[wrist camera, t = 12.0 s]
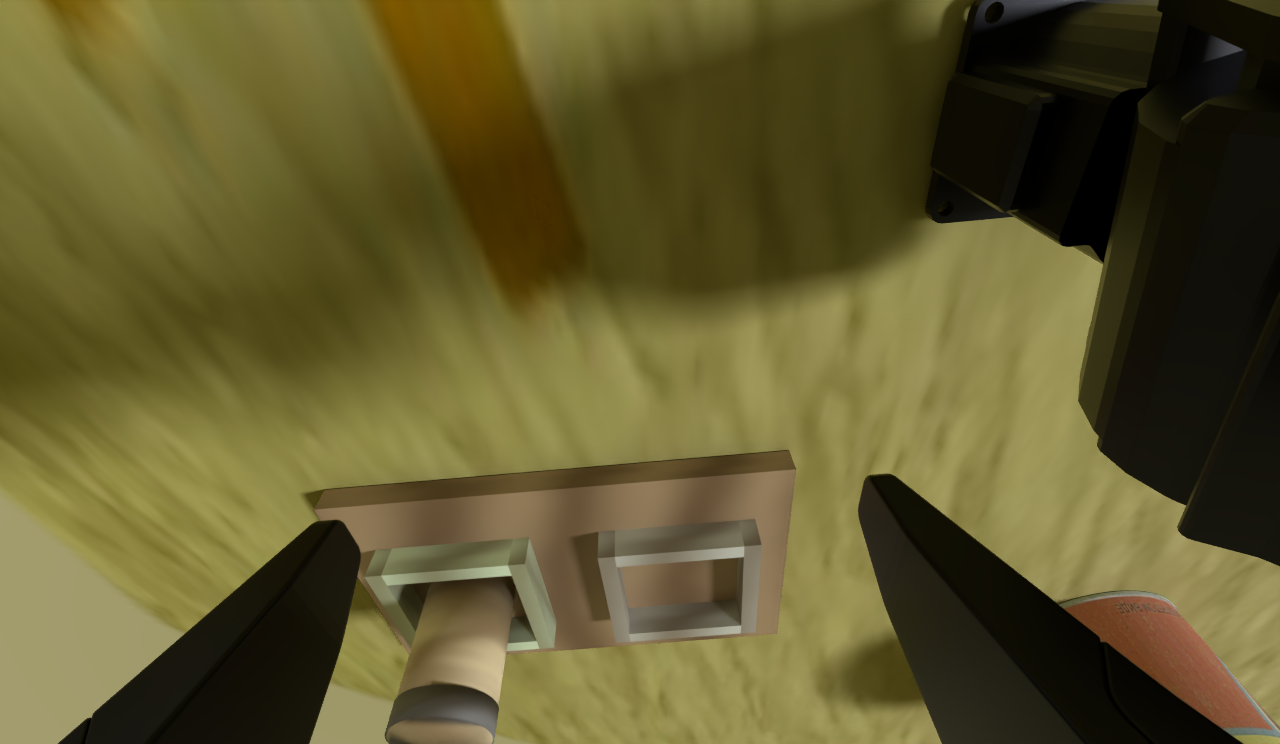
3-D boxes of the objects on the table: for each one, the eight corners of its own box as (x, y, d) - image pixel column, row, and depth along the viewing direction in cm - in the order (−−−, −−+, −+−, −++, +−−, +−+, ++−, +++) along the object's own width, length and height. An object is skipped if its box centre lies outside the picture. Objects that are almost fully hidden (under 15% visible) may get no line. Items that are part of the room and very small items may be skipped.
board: (789, 450, 25) (805, 495, 23) (772, 614, 34) (782, 659, 31) (324, 489, 26) (297, 536, 24) (419, 642, 34) (406, 687, 32)
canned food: (1174, 651, 38) (1365, 882, 28) (1005, 693, 41) (1125, 915, 31) (1177, 569, 32) (1419, 825, 22) (979, 625, 35) (1117, 872, 25)
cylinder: (504, 559, 28) (477, 711, 22) (525, 607, 30) (505, 753, 25) (416, 568, 28) (367, 721, 22) (445, 615, 30) (407, 762, 25)
